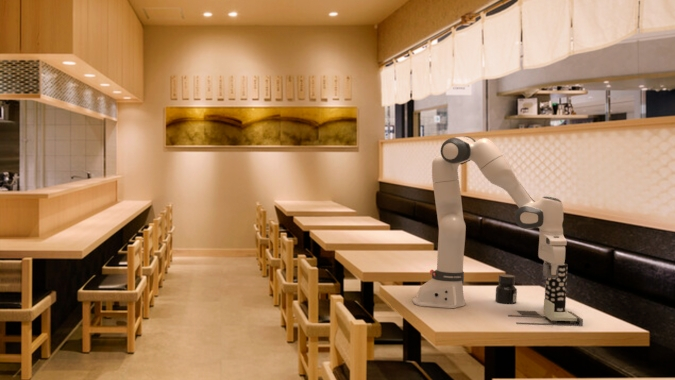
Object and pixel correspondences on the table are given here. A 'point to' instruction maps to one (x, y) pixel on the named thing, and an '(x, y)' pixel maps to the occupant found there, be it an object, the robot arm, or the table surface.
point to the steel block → (547, 271)
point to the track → (578, 323)
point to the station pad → (529, 313)
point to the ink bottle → (506, 290)
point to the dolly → (557, 314)
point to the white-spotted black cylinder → (557, 289)
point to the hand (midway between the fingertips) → (550, 273)
